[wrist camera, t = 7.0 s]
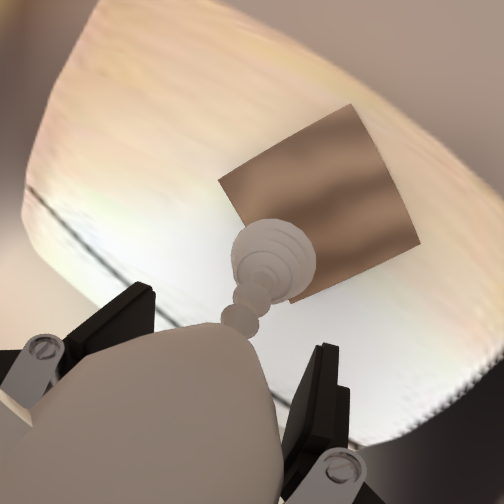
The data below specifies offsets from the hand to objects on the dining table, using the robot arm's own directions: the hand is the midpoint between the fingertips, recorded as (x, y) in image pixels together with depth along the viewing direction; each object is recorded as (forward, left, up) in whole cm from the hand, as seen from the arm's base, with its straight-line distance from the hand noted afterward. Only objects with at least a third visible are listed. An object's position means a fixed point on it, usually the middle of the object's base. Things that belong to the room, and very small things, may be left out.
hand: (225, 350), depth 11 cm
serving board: (-1, -2, -26) cm, 26 cm away
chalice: (0, 0, -9) cm, 9 cm away
